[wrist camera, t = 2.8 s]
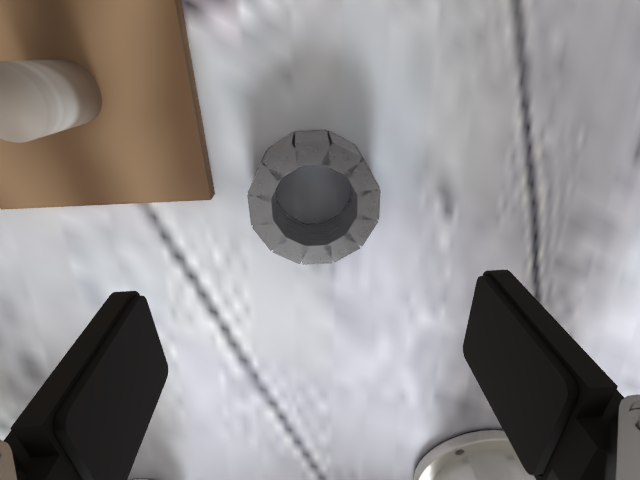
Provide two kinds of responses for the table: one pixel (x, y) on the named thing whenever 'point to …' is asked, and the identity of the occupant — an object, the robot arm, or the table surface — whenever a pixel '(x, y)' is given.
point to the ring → (319, 238)
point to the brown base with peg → (98, 105)
